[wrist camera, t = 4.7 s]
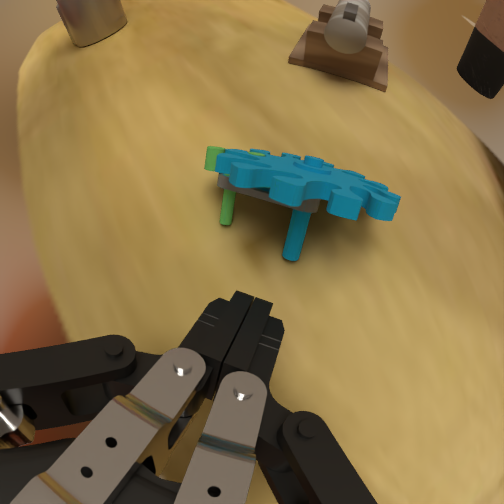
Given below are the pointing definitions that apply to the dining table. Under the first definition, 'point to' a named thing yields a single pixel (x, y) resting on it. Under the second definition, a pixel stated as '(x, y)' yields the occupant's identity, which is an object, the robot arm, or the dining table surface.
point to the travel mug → (485, 51)
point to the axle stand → (345, 44)
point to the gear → (296, 188)
